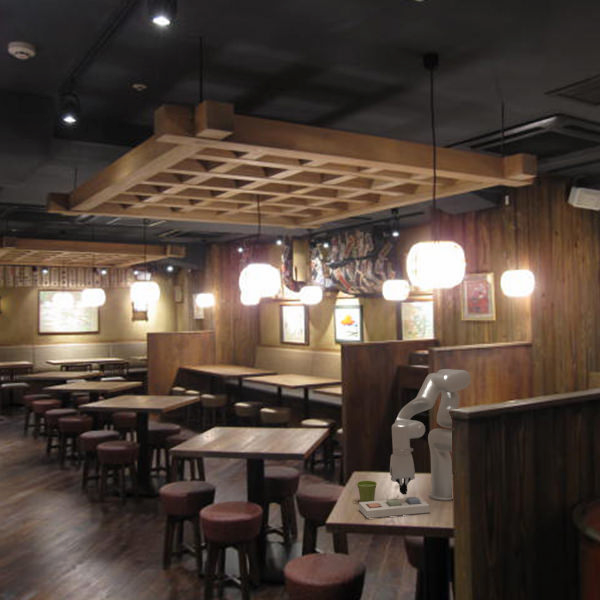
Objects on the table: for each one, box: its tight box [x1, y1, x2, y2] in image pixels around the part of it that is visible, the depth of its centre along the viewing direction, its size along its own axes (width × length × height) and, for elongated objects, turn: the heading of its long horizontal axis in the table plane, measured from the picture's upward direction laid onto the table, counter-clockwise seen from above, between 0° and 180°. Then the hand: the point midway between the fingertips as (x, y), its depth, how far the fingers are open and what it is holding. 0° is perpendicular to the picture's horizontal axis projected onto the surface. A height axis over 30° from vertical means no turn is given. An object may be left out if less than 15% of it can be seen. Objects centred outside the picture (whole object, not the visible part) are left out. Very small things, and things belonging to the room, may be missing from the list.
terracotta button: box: [367, 503, 380, 508], centre depth 258 cm, size 4×4×3 cm
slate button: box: [406, 496, 421, 505], centre depth 262 cm, size 4×4×3 cm
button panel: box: [358, 496, 431, 520], centre depth 260 cm, size 28×12×4 cm, turn 101°
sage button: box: [386, 498, 400, 507], centre depth 260 cm, size 4×4×3 cm
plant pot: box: [356, 480, 378, 502], centre depth 274 cm, size 9×9×9 cm
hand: (403, 493), depth 261 cm, fingers closed
